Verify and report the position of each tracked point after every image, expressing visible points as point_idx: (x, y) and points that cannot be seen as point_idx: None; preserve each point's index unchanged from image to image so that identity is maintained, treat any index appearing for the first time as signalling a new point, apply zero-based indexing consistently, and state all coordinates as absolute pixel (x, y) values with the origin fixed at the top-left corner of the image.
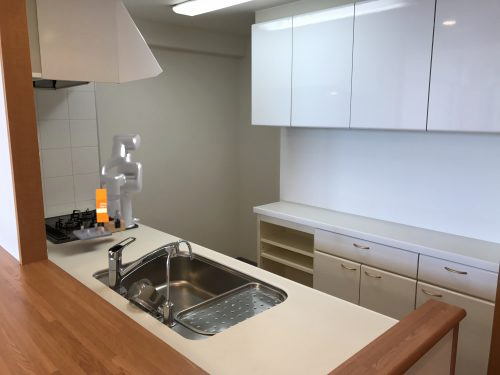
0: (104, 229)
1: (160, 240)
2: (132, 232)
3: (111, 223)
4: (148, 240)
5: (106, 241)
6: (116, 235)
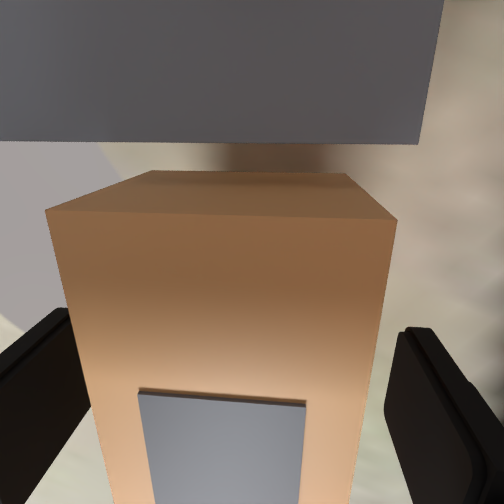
0: (97, 93)
1: (50, 483)
2: (365, 449)
3: (131, 336)
4: (85, 437)
5: (258, 149)
6: (389, 318)
